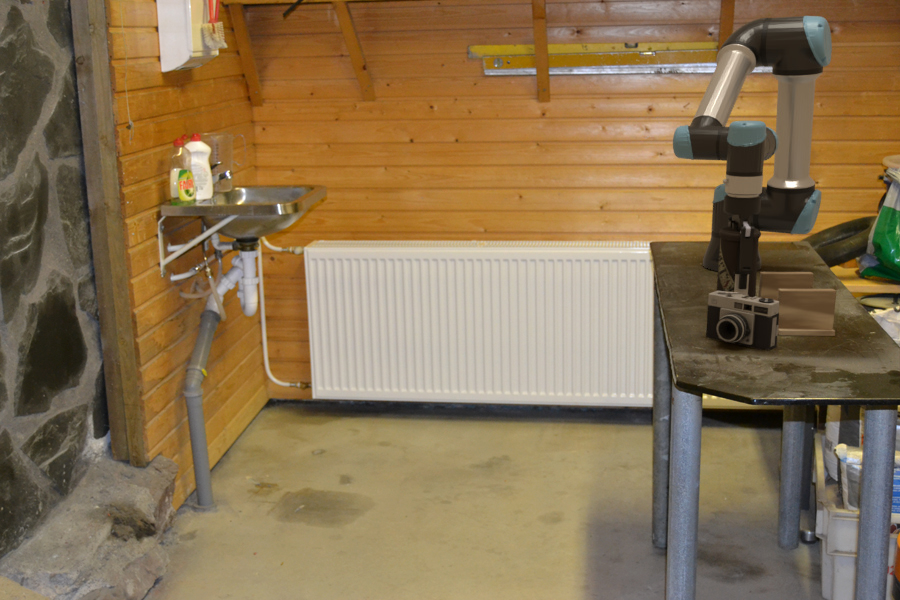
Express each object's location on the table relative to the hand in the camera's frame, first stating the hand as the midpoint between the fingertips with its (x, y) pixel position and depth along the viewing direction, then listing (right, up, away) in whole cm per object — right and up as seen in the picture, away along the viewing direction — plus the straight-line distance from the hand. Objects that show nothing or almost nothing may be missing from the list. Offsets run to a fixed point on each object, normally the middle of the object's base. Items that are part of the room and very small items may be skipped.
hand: (735, 297), depth 196 cm
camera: (-6, -9, -17) cm, 20 cm away
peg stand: (+11, -5, -4) cm, 13 cm away
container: (0, -4, +1) cm, 4 cm away
